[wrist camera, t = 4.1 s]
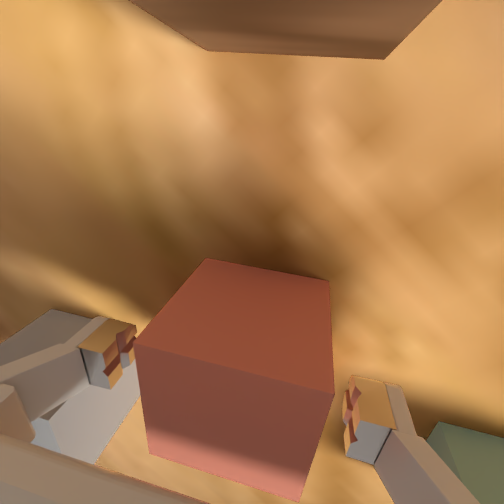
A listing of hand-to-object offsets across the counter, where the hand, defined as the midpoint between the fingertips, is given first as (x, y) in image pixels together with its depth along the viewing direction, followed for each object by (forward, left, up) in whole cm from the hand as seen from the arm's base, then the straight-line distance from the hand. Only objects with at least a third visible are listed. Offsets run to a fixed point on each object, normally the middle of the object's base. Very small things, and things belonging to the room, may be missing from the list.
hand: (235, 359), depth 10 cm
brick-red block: (0, 0, -2) cm, 2 cm away
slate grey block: (+9, +5, -2) cm, 10 cm away
